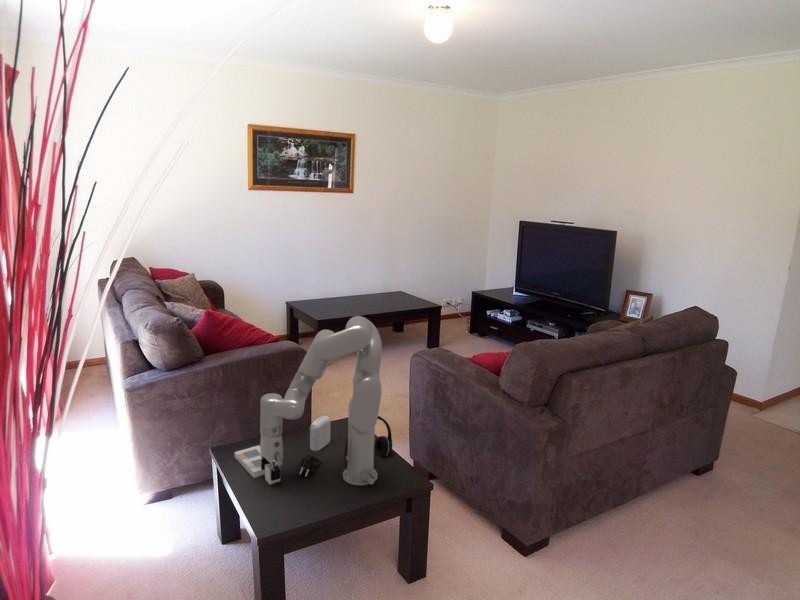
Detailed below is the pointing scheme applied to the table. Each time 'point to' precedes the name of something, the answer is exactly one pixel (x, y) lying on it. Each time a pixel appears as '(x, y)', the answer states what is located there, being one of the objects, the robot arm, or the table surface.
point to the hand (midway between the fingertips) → (270, 473)
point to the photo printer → (320, 433)
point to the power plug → (308, 463)
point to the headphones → (378, 444)
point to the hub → (251, 461)
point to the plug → (269, 473)
